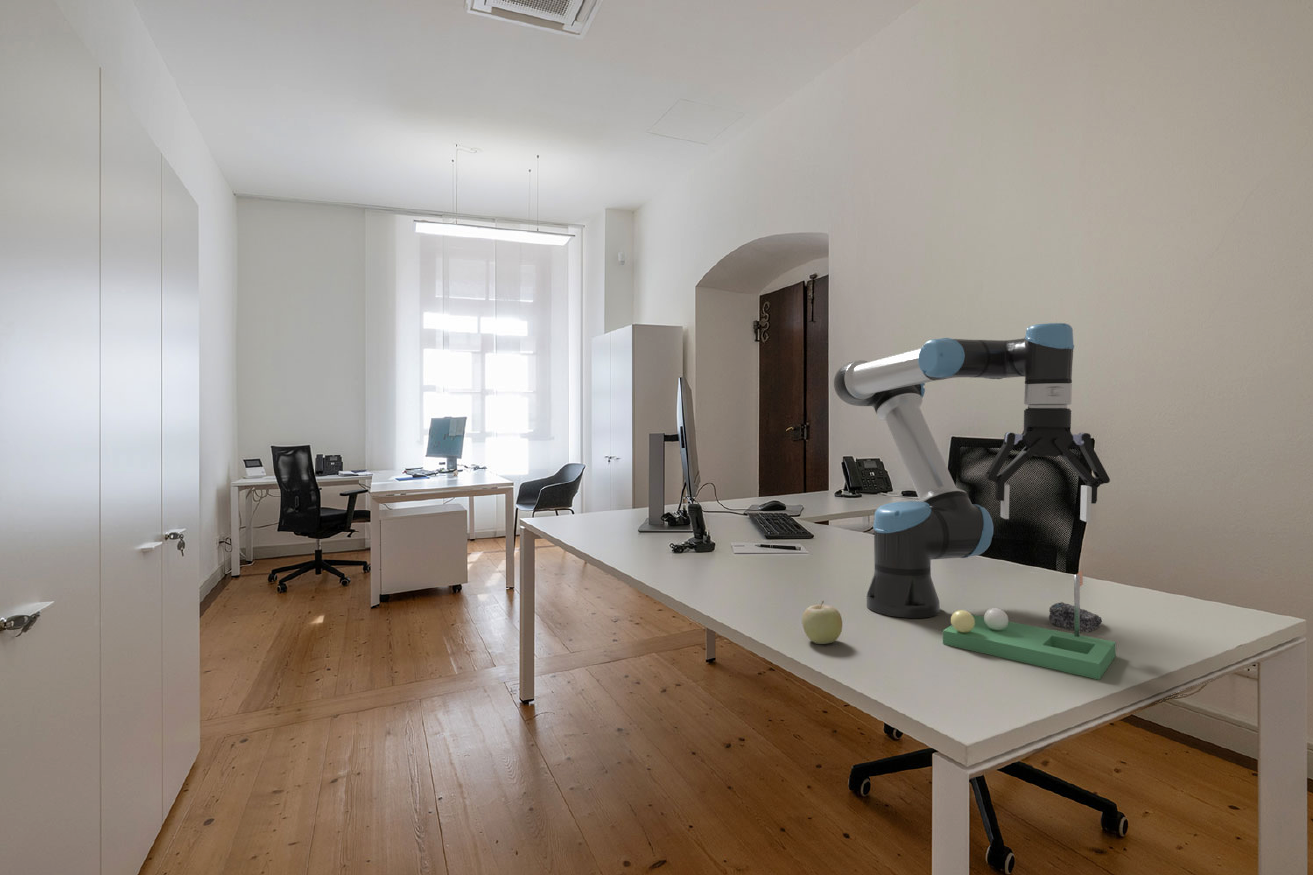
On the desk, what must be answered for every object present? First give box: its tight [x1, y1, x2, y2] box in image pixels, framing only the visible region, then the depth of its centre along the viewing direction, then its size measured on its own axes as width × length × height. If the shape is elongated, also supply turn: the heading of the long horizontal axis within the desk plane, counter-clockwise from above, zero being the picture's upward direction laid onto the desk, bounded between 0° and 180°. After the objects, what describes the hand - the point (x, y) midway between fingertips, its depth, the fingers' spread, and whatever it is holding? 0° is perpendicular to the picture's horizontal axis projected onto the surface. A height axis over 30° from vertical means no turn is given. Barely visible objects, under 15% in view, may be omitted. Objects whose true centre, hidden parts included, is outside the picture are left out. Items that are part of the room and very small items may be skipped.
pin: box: [1073, 570, 1084, 637], centre depth 113 cm, size 1×4×11 cm, turn 135°
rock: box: [1048, 601, 1103, 633], centre depth 126 cm, size 8×10×4 cm
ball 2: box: [983, 607, 1009, 630], centre depth 115 cm, size 4×4×4 cm
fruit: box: [801, 600, 843, 645], centre depth 118 cm, size 8×7×8 cm
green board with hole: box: [942, 613, 1117, 681], centre depth 112 cm, size 24×14×2 cm, turn 45°
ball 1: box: [950, 609, 975, 633], centre depth 114 cm, size 4×4×4 cm
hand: (1044, 519), depth 118 cm, fingers open, 13 cm apart
